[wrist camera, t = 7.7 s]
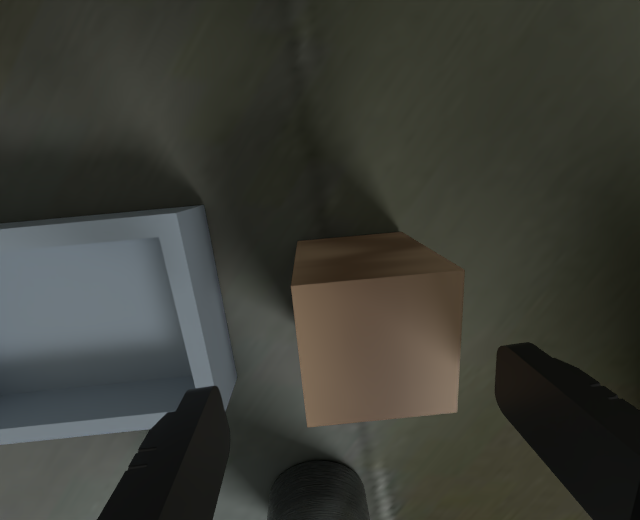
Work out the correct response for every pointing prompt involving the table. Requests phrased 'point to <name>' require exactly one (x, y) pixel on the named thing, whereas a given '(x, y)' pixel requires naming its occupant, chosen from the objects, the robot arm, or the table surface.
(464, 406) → the table surface
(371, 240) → the walnut block
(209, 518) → the robot arm
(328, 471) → the grey can
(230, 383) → the slate tray
